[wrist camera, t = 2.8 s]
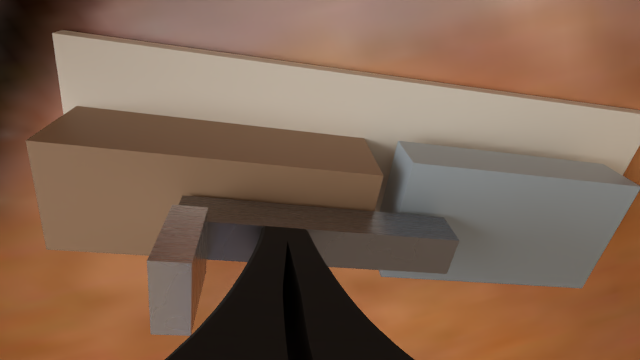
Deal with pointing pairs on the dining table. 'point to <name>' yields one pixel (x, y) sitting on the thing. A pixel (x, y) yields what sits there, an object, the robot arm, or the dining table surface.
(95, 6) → the dining table surface
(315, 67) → the latch box
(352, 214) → the bolt
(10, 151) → the dining table surface
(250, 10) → the dining table surface
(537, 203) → the cover
